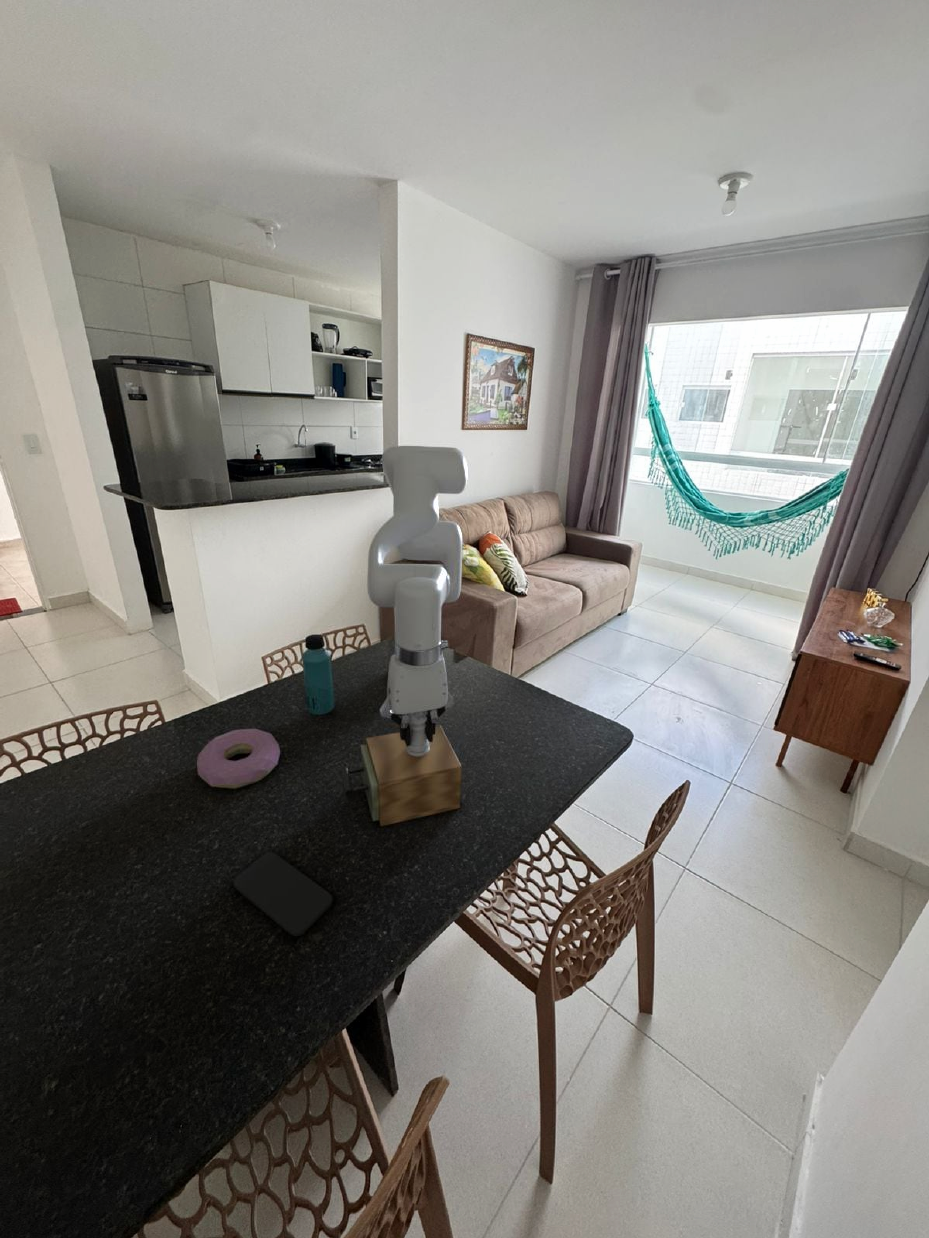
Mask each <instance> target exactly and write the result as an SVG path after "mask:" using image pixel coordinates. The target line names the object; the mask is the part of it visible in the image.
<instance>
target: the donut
mask: <svg viewBox="0 0 929 1238" xmlns="http://www.w3.org/2000/svg"><path fill="white" fill-rule="evenodd" d="M246 754H249V755H248V756H247V757H244V758H240V759H238V760H231V759H232V758H233V757H235V756H237V755H246ZM280 755H281V749H280V744H279V743H278V742H277V740H276V739H275V737H274V736H273V734H272V733H270V732H267V731H264V730H260V729H258V728H243V729H235V730H234V729H232V730H231V731H228V732H226V733H224V734H221V735H218V736H215V737H214V738H213V739H211V740H210V741H209V742H207V744H205V746H204V747H203V748H202V750H201V751H200V752H199V753H198V755H197V759H196V768H197V769H196V770H197V775H198V776H199V777H200V778H201V779H202V780H203V781H204V782H205V783H206V784H208V785H209V786H210V787H212V788H222V789H234V790H236V789H239V788H242V787H245V786H248V785H251V784H254V783H256V782H259V781H261V780H262V779H265V778H266V777H267V776H268V775H269V774H270V773H271V772H272V771H273V770H274V768H275V767H277V765H278V764H279V759H280Z"/></svg>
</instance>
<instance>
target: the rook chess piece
mask: <svg viewBox="0 0 929 1238" xmlns="http://www.w3.org/2000/svg"><path fill="white" fill-rule="evenodd" d="M426 720H427V717H426V714H425V711H420V712H414V713H410V715H409V720H408V722H410V724H409V726H410V729H411V745H410V746H406V752H407V753H408V754H409V755H411V756H413V757H422V756H424V755H426V754H427V753H428V752H429V749H430V747H429V741H428V740H427V737H426V736H425V731H424V728H425V726H426V725H425V722H426Z"/></svg>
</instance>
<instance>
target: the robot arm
mask: <svg viewBox="0 0 929 1238" xmlns="http://www.w3.org/2000/svg"><path fill="white" fill-rule="evenodd" d="M381 466H382V471H383V474H384V477H385V480H386V482H387V484H388V486H389V489H390V491H391V493H392V496H393V499H392V500H393V507H392V508H393V512H392V513H393V515H392V516H391V517H390V518H389V519H388V520H387V521H385V522H384V523H383V525H382V526H381V527H380V528H379V529H378V531H377V532H376V533H375V535H374V536H373V539H372V541H371V543H370V545H369V549H368V554H367V555H368V557H367V575H366V582H367V583H366V587H367V594H368V598H369V600H370V601H371V603H372V604H373V605H374V606H377V607H381V608H393V613H394V653H393V654H392V655H391V656H390V660H389V665H388V673H387V684H386V686H387V687H386V699H385V700H384V702H383V703H382V705H381V707H380V708H379V714H380V717H383V718H384V719H385V718H386V719H388V720H391V721H392V722H394V723H395V724H397V725H399V732H400V738H401V740H404V741H405V744H406V746H410V745H411V728H410V724H409V717H410V715H411V713H414V712H416V713H417V712H420V711H421V712H427V714H425V716H426V717H427V720H426V722H425V725H426V726H425V735H426V737H427V739H428V741H429V742H433V735H434V734H435V726H437V725H436V723H438V721H439V718H440V717H441V716H442V715H443V714H444V713H445V712H446V710H448V709H450V708H452V707H453V706H454V705H455V703H456V701H455V700H454V697H452V695H451V694H450V692H449V691H448V688H449V687H448V676H447V667H446V662H445V658H444V654H443V650H445V649H449V641H448V640H444V639H443V640H442V638H441V637H442V607H443V604H446V603H453V602H456V601H458V600H459V598H460V595H461V592H462V575H463V574H462V573H463V571H462V569H463V534H462V530H461V528H460V525H459V524H458V523H456V522H454V521H451V520H439V519H440V518H439V517H440V516H439V515H440V513H439V497H438V496H439V494H445V495H446V494H447V495H459V494H462V493H463V492H465V489H466V488H467V483H468V477H469V476H468V475H469V473H468V472H469V471H468V464H467V460H466V457H465V455H464V453H463V452H462V451H461V450H460V449H459V448H457V447H449V446H426V445H395V446H390V447H387V448H386V449H384V451H382V455H381ZM395 548H396V552H397V554H398V556H399V557H400V558H402V559H403V560H410V561H441V562H442V563H443V564H428V563H384V562H385V558H386V556H387V554H388V553H390V552H391V551H393V549H395Z"/></svg>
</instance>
